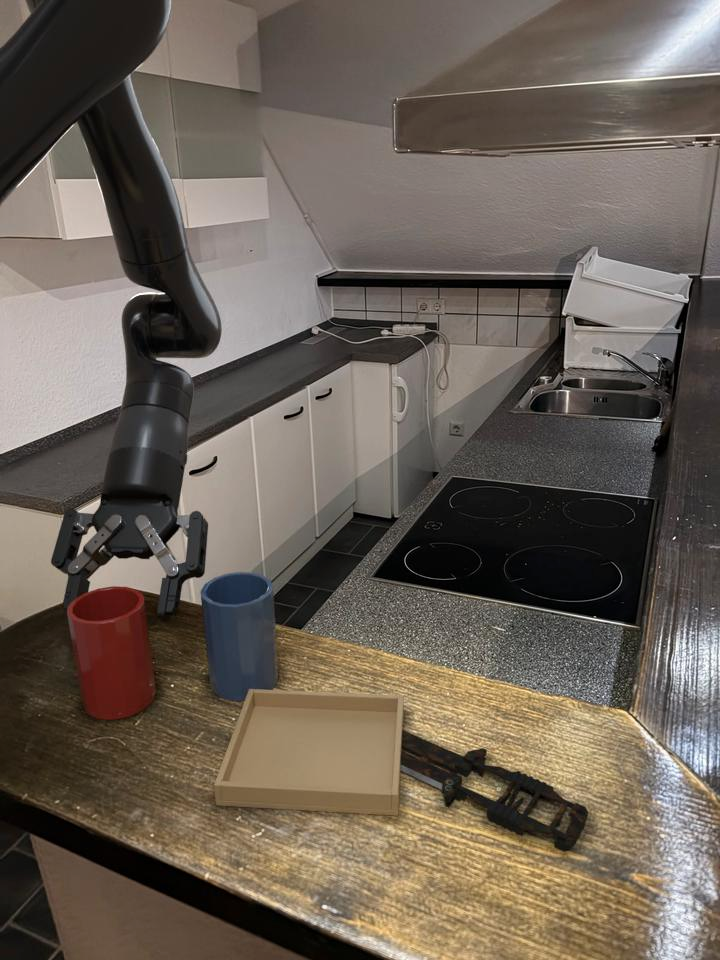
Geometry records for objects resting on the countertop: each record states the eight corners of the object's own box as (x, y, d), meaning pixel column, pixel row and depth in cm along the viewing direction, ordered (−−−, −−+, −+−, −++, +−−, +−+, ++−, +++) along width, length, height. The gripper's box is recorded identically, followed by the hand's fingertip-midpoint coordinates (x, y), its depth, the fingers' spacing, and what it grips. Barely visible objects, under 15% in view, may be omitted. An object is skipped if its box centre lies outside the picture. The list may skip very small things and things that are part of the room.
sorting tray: (215, 805, 59) (213, 785, 58) (250, 707, 70) (248, 688, 69) (397, 816, 57) (398, 795, 57) (403, 713, 69) (403, 695, 68)
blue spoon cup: (202, 699, 71) (192, 605, 67) (220, 659, 77) (211, 571, 73) (270, 702, 70) (264, 607, 67) (283, 661, 76) (278, 573, 73)
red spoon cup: (71, 718, 69) (54, 622, 65) (100, 675, 75) (86, 585, 71) (141, 721, 68) (127, 624, 64) (165, 678, 74) (154, 587, 70)
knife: (295, 725, 68) (295, 712, 68) (343, 690, 73) (343, 677, 72) (556, 874, 53) (558, 859, 52) (595, 818, 57) (597, 804, 57)
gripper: (63, 443, 74) (26, 605, 68) (206, 444, 73) (182, 610, 67) (93, 474, 81) (62, 625, 75) (225, 477, 80) (204, 630, 73)
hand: (118, 618), depth 71 cm, fingers open, 8 cm apart
